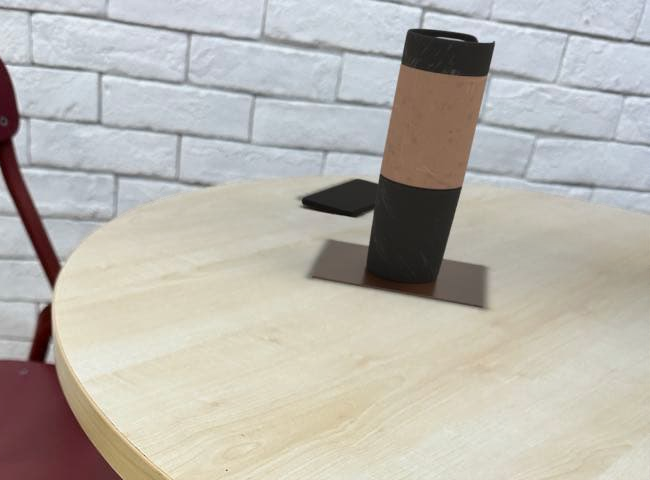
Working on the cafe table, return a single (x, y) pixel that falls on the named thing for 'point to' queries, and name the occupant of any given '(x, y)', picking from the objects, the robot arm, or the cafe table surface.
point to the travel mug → (426, 152)
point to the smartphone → (345, 198)
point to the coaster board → (450, 284)
